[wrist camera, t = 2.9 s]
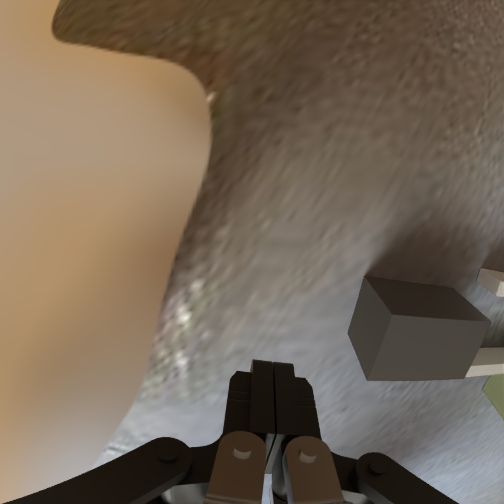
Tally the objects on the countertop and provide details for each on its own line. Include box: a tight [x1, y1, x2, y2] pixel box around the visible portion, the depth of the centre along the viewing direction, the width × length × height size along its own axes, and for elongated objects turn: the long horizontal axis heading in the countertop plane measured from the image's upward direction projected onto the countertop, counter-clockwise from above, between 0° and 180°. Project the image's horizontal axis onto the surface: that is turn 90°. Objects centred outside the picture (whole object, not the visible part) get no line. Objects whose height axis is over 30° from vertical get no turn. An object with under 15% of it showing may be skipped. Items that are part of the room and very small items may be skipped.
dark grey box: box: [348, 276, 491, 381], centre depth 17 cm, size 7×4×5 cm, turn 82°
